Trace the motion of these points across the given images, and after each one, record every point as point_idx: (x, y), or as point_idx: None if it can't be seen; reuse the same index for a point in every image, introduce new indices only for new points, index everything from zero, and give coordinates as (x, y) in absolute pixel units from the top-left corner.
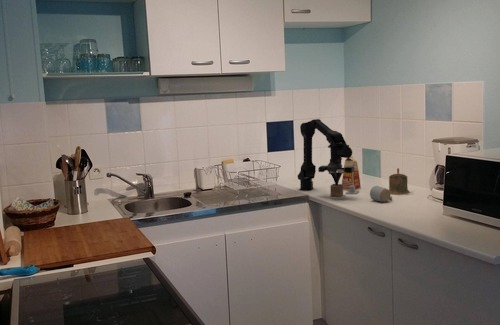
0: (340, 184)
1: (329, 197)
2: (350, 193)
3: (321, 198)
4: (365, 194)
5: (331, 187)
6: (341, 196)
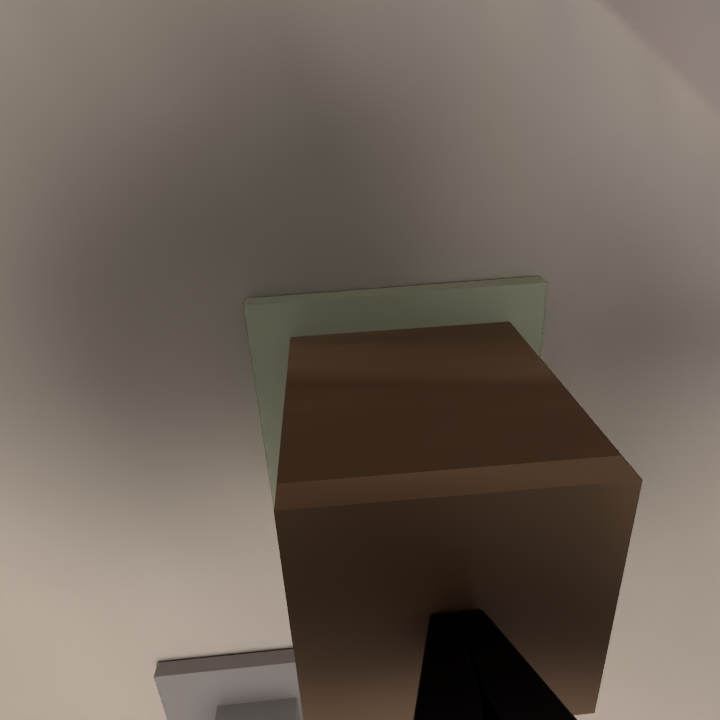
0: (358, 700)
1: (524, 280)
2: (254, 662)
3: (690, 160)
4: (13, 701)
5: (572, 442)
6: None
